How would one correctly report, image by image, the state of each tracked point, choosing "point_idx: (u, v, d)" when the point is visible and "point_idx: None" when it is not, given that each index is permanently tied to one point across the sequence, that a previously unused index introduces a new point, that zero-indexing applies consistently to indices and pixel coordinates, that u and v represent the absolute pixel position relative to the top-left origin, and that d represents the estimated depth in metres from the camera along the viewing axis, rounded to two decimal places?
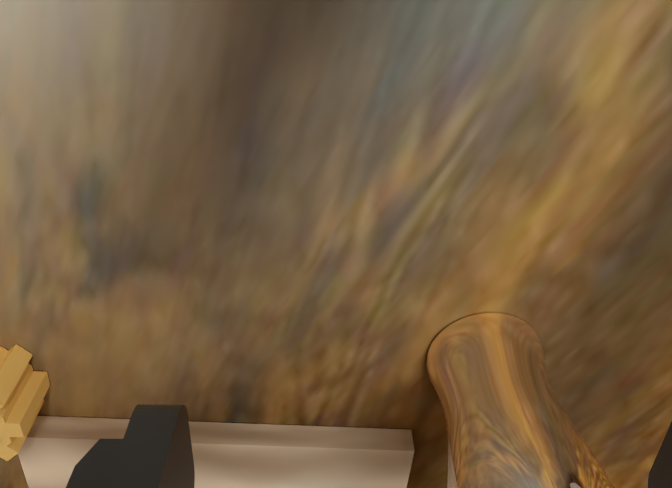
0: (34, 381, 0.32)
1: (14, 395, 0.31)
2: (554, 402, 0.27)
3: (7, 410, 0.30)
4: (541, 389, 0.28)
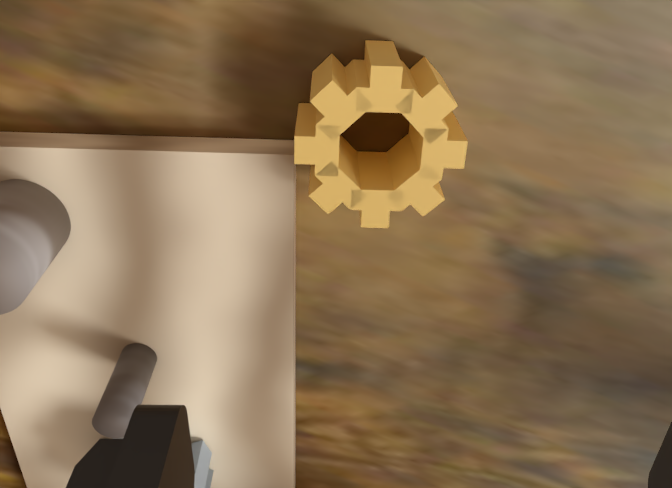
0: None
1: None
2: None
3: None
4: None
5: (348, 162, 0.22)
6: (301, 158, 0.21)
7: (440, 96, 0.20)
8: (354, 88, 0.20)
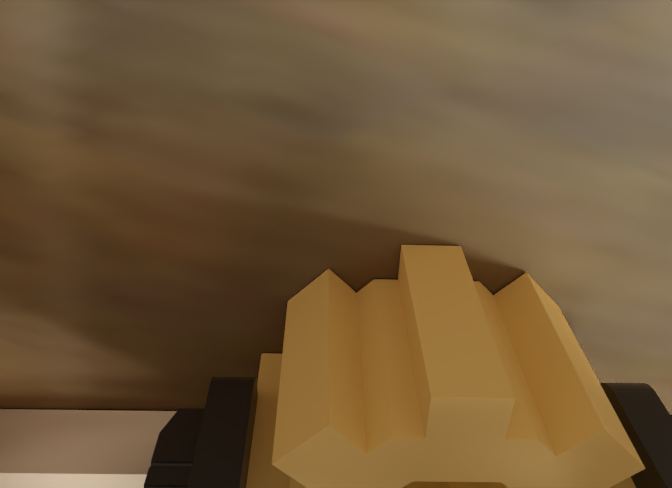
0: None
1: None
2: None
3: None
4: None
5: None
6: None
7: (604, 453, 0.08)
8: (385, 435, 0.08)
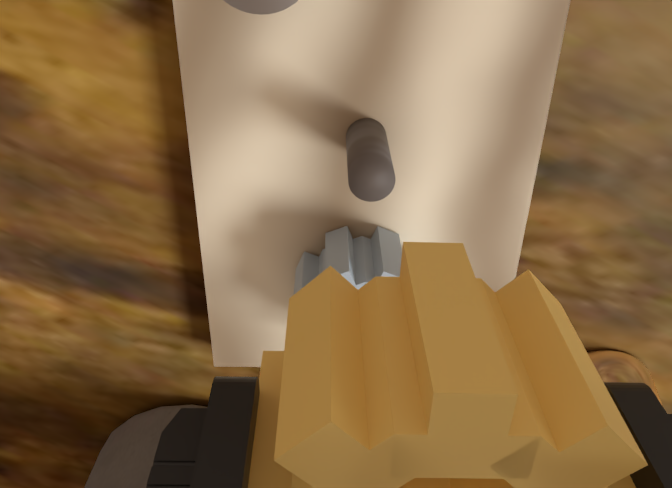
0: None
1: None
2: None
3: None
4: None
5: None
6: None
7: (607, 449, 0.08)
8: (387, 431, 0.08)
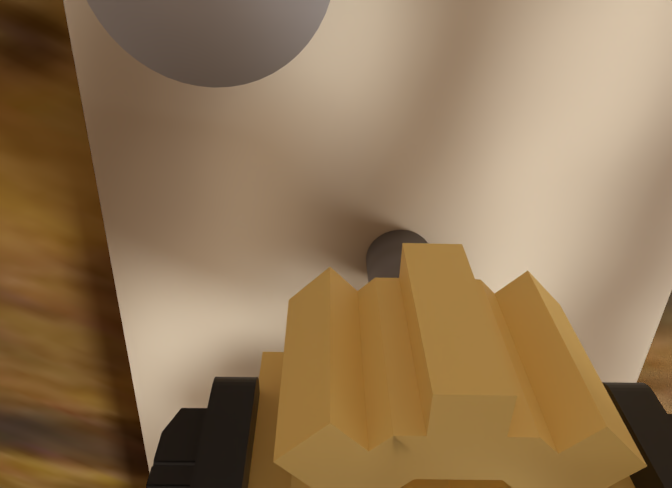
0: None
1: None
2: None
3: None
4: None
5: None
6: None
7: (606, 450, 0.08)
8: (387, 433, 0.08)
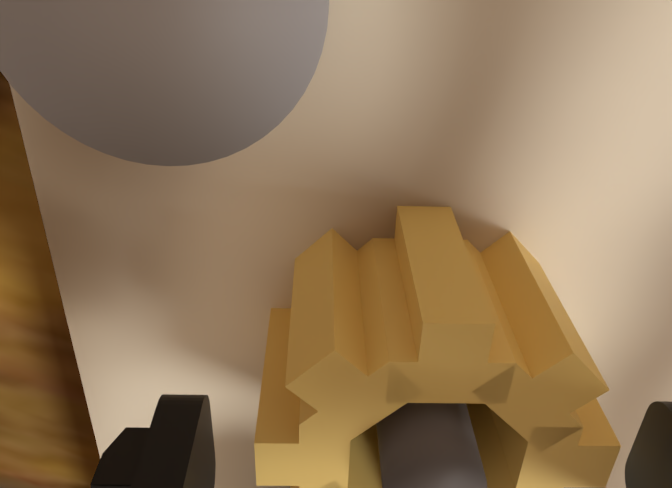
0: None
1: None
2: None
3: None
4: None
5: (365, 440, 0.12)
6: (270, 477, 0.10)
7: (573, 375, 0.09)
8: (383, 360, 0.09)
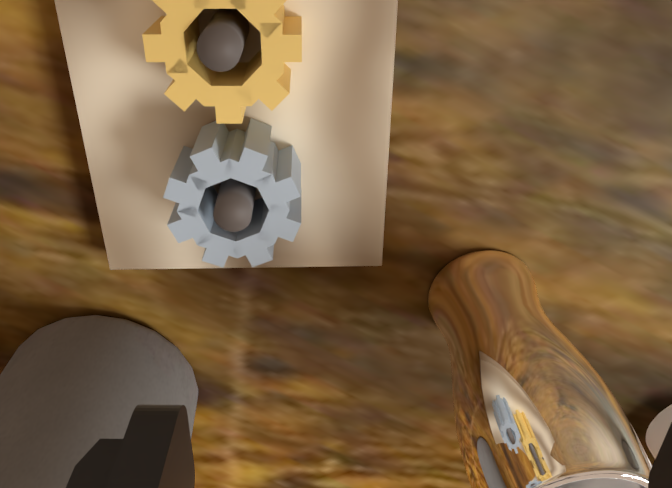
0: None
1: None
2: None
3: None
4: None
5: (204, 65, 0.24)
6: (151, 56, 0.23)
7: None
8: None
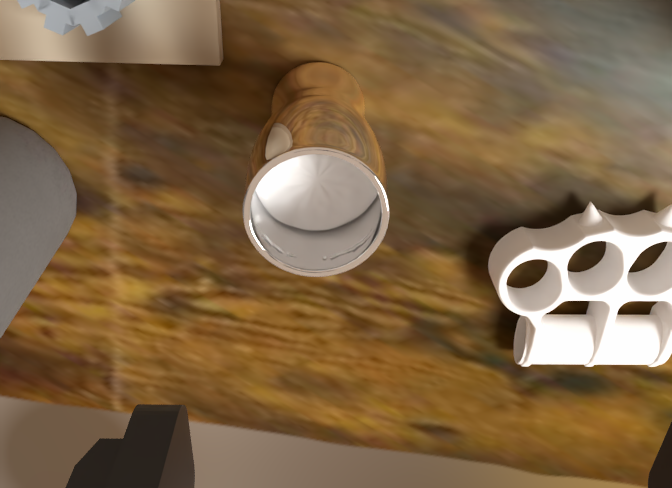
0: None
1: None
2: None
3: None
4: None
5: None
6: None
7: None
8: None
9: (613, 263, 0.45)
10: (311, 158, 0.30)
